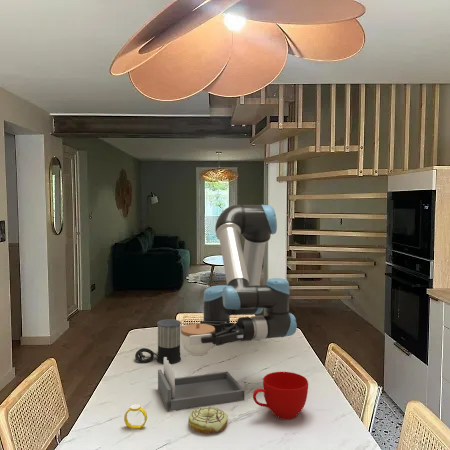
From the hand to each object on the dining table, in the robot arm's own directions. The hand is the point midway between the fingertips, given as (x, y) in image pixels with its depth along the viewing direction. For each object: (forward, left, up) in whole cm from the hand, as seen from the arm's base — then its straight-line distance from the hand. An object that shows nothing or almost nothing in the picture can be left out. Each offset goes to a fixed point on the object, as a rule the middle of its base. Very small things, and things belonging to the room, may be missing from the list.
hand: (185, 334), depth 137 cm
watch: (+14, -17, -20) cm, 30 cm away
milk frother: (-34, -2, -20) cm, 40 cm away
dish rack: (0, +5, -20) cm, 20 cm away
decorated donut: (+19, +2, -20) cm, 28 cm away
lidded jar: (0, +4, -6) cm, 7 cm away
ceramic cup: (+20, +23, -20) cm, 36 cm away
